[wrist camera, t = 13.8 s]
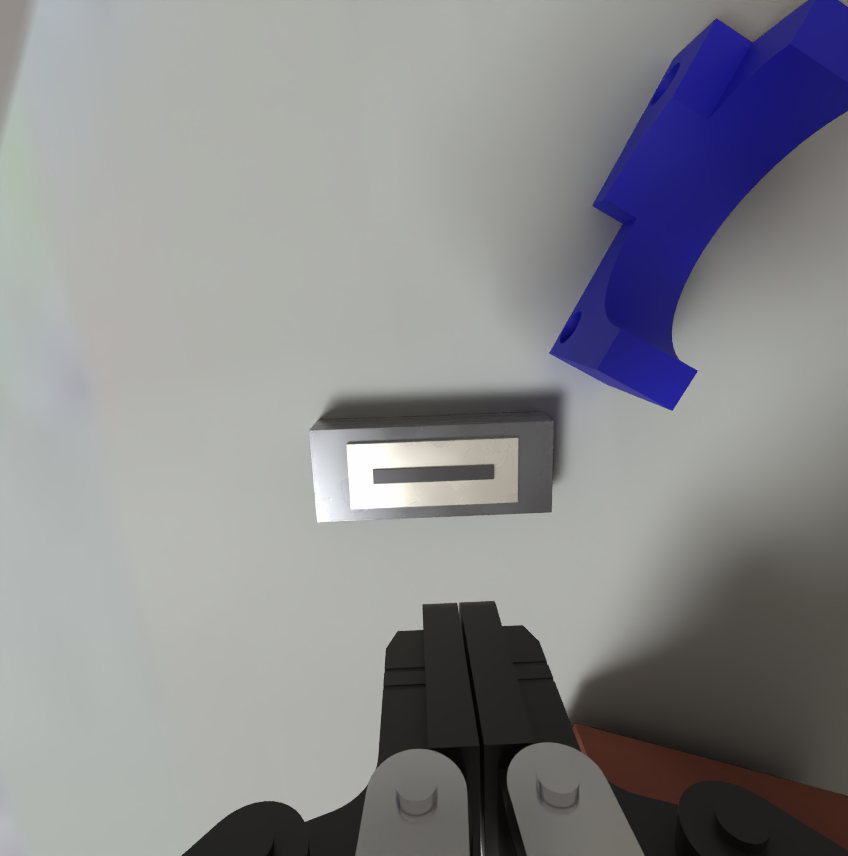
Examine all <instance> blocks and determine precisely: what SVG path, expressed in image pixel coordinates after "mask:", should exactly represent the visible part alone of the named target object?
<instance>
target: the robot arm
mask: <svg viewBox="0 0 848 856" xmlns="http://www.w3.org/2000/svg"><path fill="white" fill-rule="evenodd" d="M383 686H384V690H383V700H382V714H381V728H380V742H379V756H378V763H377V767H376V770H375V772H374V773H373V775H372V776H371V779H370V781H369V783H368V785H367V787H366V788H365V789H364V790H363V791H362V792H361V793H360V794H359V795H358V796H357V797H356V798H355V799H354V800H352V801H351V802H350V803H348V804H346V805H345V806H343V807H341V808H339V809H337V810H335V811H333V812H330V813H327V814H325V815H322V816H320V817H317V818H314V819H312V820H309V821H306V822H304V820H303V819H302V817H301V815H300V814H299V813H298V812H297V811H296V810H295V809H293V808H292V807H290V806H288V805H286V804H283V803H280V802H274V801H264V802H258V803H253V804H250V805H247V806H244V807H242V808H240V809H238V810H236V811H234V812H233V813H231V814H229V815H228V816H226V817H225V818H224V819H223V820H221V821H220V822H219V823H218V824H217V825H216V826H214V827H213V828H212V829H211V830H210V831H209V832H208V833H207V834H205V835H204V836H203V837H202V838H201V839H200V840H199V841H198V842H196V843H195V844H194V845H193V846H192V847H191V848H190V849H189V850H187V851H186V852H185V853H184V854H183V855H182V856H481V844H482V852H483V856H848V851H847V850H846V849H844V848H843V847H841V846H839V845H838V844H836V843H835V842H833V841H831V840H830V839H828V838H827V837H825V836H823V835H822V834H820V833H819V832H817V831H815V830H814V829H812V828H810V827H809V826H807V825H806V824H804V823H802V822H801V821H799V820H798V819H796V818H794V817H793V816H791V815H790V814H788V813H786V812H785V811H783V810H782V809H780V808H778V807H777V806H775V805H774V804H772V803H770V802H769V801H767V800H765V799H764V798H762V797H761V796H759V795H757V794H755V793H753V792H752V791H750V790H747V789H745V788H743V787H741V786H738V785H735V784H731V783H727V782H722V781H702V782H698V783H695V784H693V785H691V786H690V787H688V788H687V789H686V790H685V791H684V792H683V794H682V796H681V797H680V801H679V805H677V804H673V803H669V802H665V801H661V800H657V799H653V798H649V797H645V796H641V795H638V794H635V793H632V792H629V791H626V790H624V789H622V788H620V787H618V786H616V785H614V784H613V783H611V782H609V781H608V780H607V779H606V777H605V776H604V774H603V772H602V771H601V769H600V768H599V767H598V766H597V765H596V764H595V763H594V762H593V761H592V760H591V759H590V758H589V757H588V756H586V755H585V754H583V753H582V751H581V749H580V747H579V744H578V742H577V739H576V736H575V734H574V731H573V729H572V726H571V723H570V721H569V718H568V716H567V713H566V710H565V708H564V705H563V702H562V700H561V697H560V695H559V692H558V689H557V687H556V684H555V682H553V676H552V674H551V671H550V669H549V666H548V665H547V661H546V658H545V655H544V653H543V650H542V648H541V645H540V642H539V641H538V640H537V639H536V638H535V637H534V636H533V635H532V634H531V633H530V632H529V631H528V630H527V629H526V628H525V627H524V626H523V625H520V626H502V625H501V621H500V618H499V614H498V610H497V607H496V604H495V602H494V601H484V602H462V603H459V612H458V606H457V603H443V604H423V630H414V631H398V632H397V633H396V635H395V636H394V638H393V639H392V641H391V642H390V644H389V645H388V647H387V648H386V657H385V673H384V685H383ZM480 837H481V840H480Z"/></svg>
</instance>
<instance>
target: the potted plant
mask: <svg viewBox="0 0 848 856" xmlns="http://www.w3.org/2000/svg"><path fill="white" fill-rule="evenodd" d="M572 729H573V731H574V734H575V736H576V739H577V742H578V744H579V747H580V749H581V751H582V753H583V754H585V755H586V756H588V757H589V758H590V759H591V760H592V761H593V762H594V763H595V764H596V765H597V766H598V767H599V768H600V769H601V771H602V772H603V774H604V776H605V777H606V779H607V780H608V781H609V782H611V783H613V784H614V785H616V786H618V787H620V788H622V789H624V790H626V791H629V792H632V793H635V794H638V795H641V796H645V797H649V798H653V799H657V800H661V801H665V802H669V803H673V804H677V805H679V801H680V797H681V796H682V794H683V792H684V791H685V790H686V789H687V788H688V787H690V786H691V785H693V784H695V783H698V782H702V781H722V782H727V783H731V784H735V785H738V786H741V787H743V788H745V789H747V790H750V791H752V792H753V793H755V794H757V795H759V796H761V797H762V798H764V799H765V800H767V801H769V802H770V803H772V804H774V805H775V806H777V807H778V808H780V809H782V810H783V811H785V812H786V813H788V814H790V815H791V816H793V817H794V818H796V819H798V820H799V821H801V822H802V823H804V824H806V825H807V826H809V827H810V828H812V829H814V830H815V831H817V832H819V833H820V834H822V835H823V836H825V837H827V838H828V839H830V840H831V841H833V842H835V843H836V844H838V845H839V846H841V847H843V848H844V849H846V850H847V851H848V796H846V795H842V794H838V793H835V792H831V791H827V790H823V789H820V788H816V787H812V786H808V785H805V784H801V783H797V782H793V781H790V780H786V779H782V778H778V777H775V776H771V775H767V774H763V773H760V772H756V771H752V770H748V769H745V768H741V767H737V766H733V765H730V764H726V763H722V762H719V761H715V760H711V759H707V758H704V757H700V756H696V755H692V754H689V753H685V752H681V751H677V750H674V749H670V748H666V747H662V746H659V745H655V744H651V743H647V742H644V741H640V740H636V739H632V738H629V737H625V736H621V735H617V734H614V733H610V732H606V731H602V730H599V729H595V728H591V727H588V726H584V725H580V724H576V723H574V725H573V727H572Z"/></svg>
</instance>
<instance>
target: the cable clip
mask: <svg viewBox="0 0 848 856" xmlns="http://www.w3.org/2000/svg"><path fill="white" fill-rule="evenodd" d="M847 111H848V7H847V6H845V5H844V4H843V3H841V2H840V1H838V0H808V1H806V2H805V3H804V4H803V5H801V6H800V7H799V8H797V9H796V10H795V11H793V12H792V13H791V14H789V15H788V16H787V17H786V18H784V19H783V20H782V21H780V22H779V23H778V24H776V25H775V26H774V27H773V28H771V29H770V30H769V31H767V32H766V33H765V34H763V35H762V36H761V37H759V38H758V39H757V40H756V41H754V42H753V43H752V42H751V41H749V40H748V39H746V38H745V37H743V36H742V35H740V34H739V33H737V32H736V31H734V30H733V29H731V28H730V27H728V26H727V25H725V24H724V23H722V22H721V21H719V20H718V19H717V18H716V19H715V20H714V21H713V22H712V23H711V24H710V25H709V26H708V27H707V28H706V29H705V30H704V31H703V32H701V33H700V34H699V35H698V36H697V37H696V38H695V39H694V40H693V41H692V42H691V43H690V44H689V45H688V46H687V47H685V48H684V49H683V50H682V51H681V52H680V53H679V54H678V55H677V56H676V57H675V58H674V59H673V61H672V63H671V65H670V66H669V68H668V70H667V72H666V74H665V75H664V77H663V79H662V81H661V83H660V84H659V86H658V88H657V90H656V92H655V93H654V95H653V97H652V99H651V101H650V102H649V104H648V106H647V108H646V110H645V112H644V113H643V115H642V117H641V119H640V121H639V122H638V124H637V126H636V128H635V130H634V131H633V133H632V135H631V137H630V139H629V140H628V142H627V144H626V146H625V148H624V149H623V151H622V153H621V155H620V157H619V159H618V160H617V162H616V164H615V166H614V168H613V169H612V171H611V173H610V175H609V177H608V178H607V180H606V182H605V184H604V186H603V187H602V189H601V191H600V193H599V195H598V197H597V198H596V200H595V202H594V204H593V206H594V207H596V208H597V209H599V210H601V211H602V212H604V213H606V214H607V215H609V216H611V217H613V218H614V219H616V220H618V221H619V222H621V223H623V225H622V226H621V228H620V230H619V232H618V233H617V235H616V237H615V239H614V240H613V242H612V244H611V246H610V248H609V249H608V251H607V253H606V255H605V256H604V258H603V260H602V262H601V263H600V265H599V267H598V269H597V270H596V272H595V274H594V276H593V277H592V279H591V281H590V283H589V284H588V286H587V288H586V290H585V291H584V293H583V295H582V297H581V298H580V300H579V302H578V304H577V305H576V307H575V309H574V311H573V312H572V314H571V316H570V318H569V320H568V321H567V323H566V325H565V327H564V328H563V330H562V332H561V334H560V335H559V337H558V339H557V341H556V342H555V344H554V346H553V348H552V349H551V351H550V354H551V355H553V356H555V357H557V358H559V359H561V360H563V361H564V362H566V363H568V364H570V365H572V366H574V367H576V368H577V369H579V370H581V371H583V372H585V373H587V374H588V375H590V376H592V377H594V378H596V379H598V380H600V381H601V382H603V383H605V384H607V385H609V386H612V387H614V388H617V389H619V390H622V391H624V392H627V393H629V394H632V395H634V396H637V397H639V398H642V399H644V400H647V401H649V402H652V403H654V404H657V405H659V406H662V407H664V408H667V409H669V410H672V411H673V409H674V407H675V406H676V404H677V403H678V401H679V400H680V398H681V397H682V395H683V393H684V392H685V390H686V389H687V387H688V386H689V384H690V382H691V381H692V379H693V378H694V376H695V375H696V373H697V370H695V369H694V368H692V367H690V366H688V365H686V364H685V363H683V362H681V361H680V360H679V359H678V357H677V355H676V353H675V351H674V348H673V343H672V323H673V318H674V313H675V310H676V306H677V303H678V300H679V297H680V294H681V292H682V290H683V287H684V285H685V283H686V281H687V279H688V277H689V275H690V273H691V271H692V269H693V267H694V265H695V263H696V262H697V260H698V258H699V257H700V255H701V253H702V252H703V250H704V249H705V247H706V246H707V244H708V243H709V241H710V240H711V238H712V237H713V235H714V234H715V233H716V231H717V230H718V228H719V227H720V226H721V224H722V223H723V222H724V221H725V219H726V218H727V217H728V215H729V214H730V213H731V212H732V211H733V209H734V208H735V207H736V206H737V205H738V203H739V202H740V201H741V200H742V199H743V198H744V197H745V196H746V195H747V193H748V192H749V191H750V190H751V189H752V188H753V187H754V186H755V185H756V184H757V183H758V182H759V181H760V180H761V179H762V178H763V177H764V176H765V175H766V174H767V173H768V172H769V171H770V170H771V169H772V168H773V167H774V166H775V165H776V164H777V163H778V162H780V161H781V160H782V159H783V158H784V157H785V156H786V155H787V154H789V153H790V152H791V151H792V150H793V149H795V148H796V147H797V146H798V145H799V144H801V143H802V142H803V141H804V140H806V139H807V138H808V137H810V136H811V135H812V134H814V133H815V132H816V131H818V130H819V129H821V128H822V127H823V126H825V125H826V124H828V123H829V122H831V121H832V120H834V119H835V118H837V117H839V116H840V115H842V114H843V113H845V112H847Z"/></svg>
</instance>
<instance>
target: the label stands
mask: <svg viewBox="0 0 848 856" xmlns="http://www.w3.org/2000/svg"><path fill="white" fill-rule="evenodd" d="M309 435H310V446H311V457H312V468H313V480H314V491H315V502H316V513H317V522H331V521H355V520H379V519H402V518H426V517H450V516H474V515H497V514H521V513H545V512H552V475H553V438H554V421H553V420H552V419H551V418H549V417H548V416H547V415H546V414H544V413H543V412H542V411H536V412H510V413H485V414H459V415H433V416H407V417H381V418H355V419H329V420H317V422H316V423H315V424H314V425H313V427H312V428H311V429H310V430H309Z"/></svg>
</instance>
